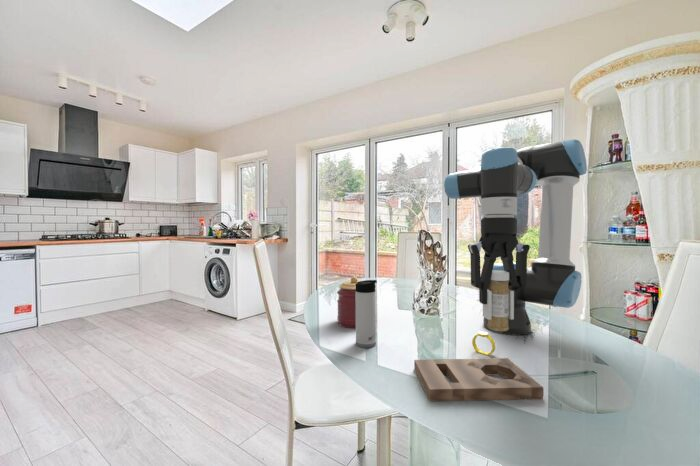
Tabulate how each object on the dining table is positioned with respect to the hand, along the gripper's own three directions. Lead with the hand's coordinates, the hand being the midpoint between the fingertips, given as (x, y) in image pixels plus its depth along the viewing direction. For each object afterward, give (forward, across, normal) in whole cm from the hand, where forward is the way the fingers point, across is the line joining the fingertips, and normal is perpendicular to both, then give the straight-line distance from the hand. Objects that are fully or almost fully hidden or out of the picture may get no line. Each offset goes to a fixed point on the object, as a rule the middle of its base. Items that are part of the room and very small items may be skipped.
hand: (498, 317), depth 70 cm
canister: (+15, -32, +45) cm, 57 cm away
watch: (+15, +4, +16) cm, 23 cm away
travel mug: (+15, -29, +24) cm, 41 cm away
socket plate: (+15, -6, 0) cm, 16 cm away
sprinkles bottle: (+3, 0, 0) cm, 3 cm away
